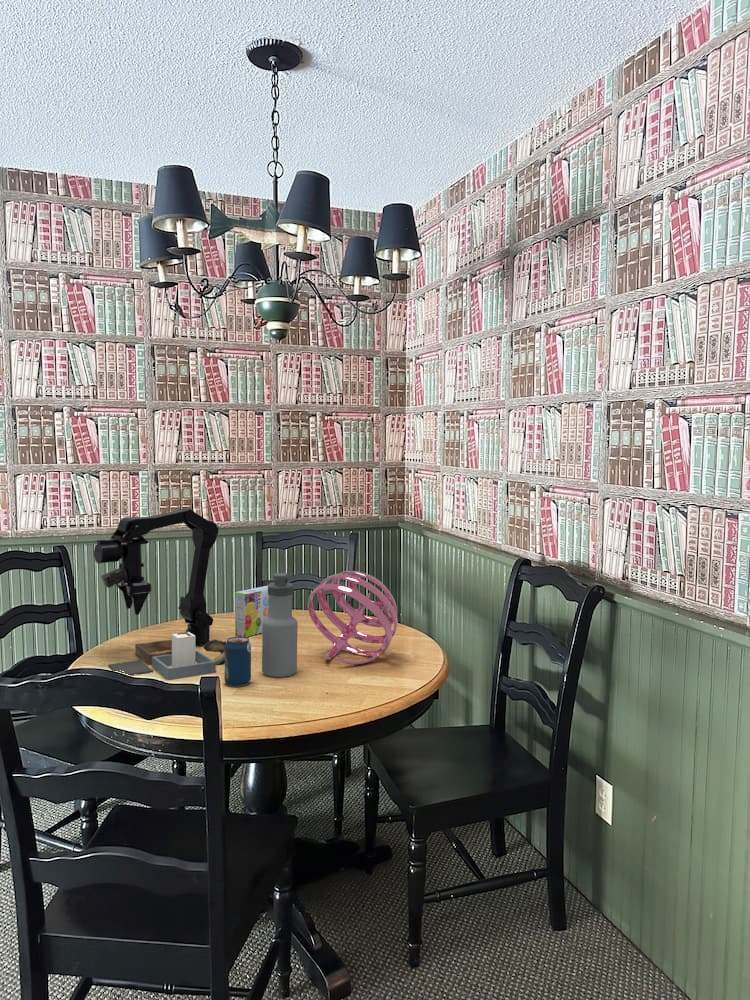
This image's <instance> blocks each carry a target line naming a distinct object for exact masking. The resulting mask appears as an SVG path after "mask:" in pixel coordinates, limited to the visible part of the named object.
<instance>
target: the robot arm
mask: <svg viewBox="0 0 750 1000" xmlns="http://www.w3.org/2000/svg"><path fill="white" fill-rule="evenodd" d="M183 523H184V525H185V526H186V527H187V528H188V529H190V531H192V532H191V539H192V542H193V545H194V546H193V547H194V552H193V558H192V565H191V570H190V571H191V572H190V579H189V584H188V585H189V586H188V591H187V593H186V595H185V596H180V599H179V607H178V608H177V609H178V610H179V614H180V616H181V617H182V618H183V619H184V623H186V624H187V629H185V632H190V633H192V634H193V635H195V647H199V646H205V644H206V643H207V642H208V641H211V640H210V638H211V637H210V629H211V628H210V626H213V623H214V618H213V617H212V616H211V614H209V613H208V612H207V600H206V597H205V586H206V580H207V573H208V567H209V560H210V553H211V550H212V548H213V546H214V545H215V543H216V541H217V537H218V534H219V529H220V528H219V526H218V524H217V523H215V522H214V521H210V520H207V518H205V517H203V516H201V514H198V513H197V512H195V511H194V510H193V509H190V508H180V509H178V510H172V511H168V512H165V513H163V512H162V513H160V514H159V513H158V514H153V515H150V516H127V517H122V518H121V519H120V520H119V522H118V523H117V528H116V529H115V531H114V532H113V534H112V535H111V537H110V539H109V538H108V539H97V540H96V544H95V547H94V550H93V557H94V561H95V562H96V564H99V565H100V564H107V563H115V562H119V561H120V560H121V562H120V563H119V564H118V568H116V569H113V570H111V571H109V572H106V573H104V574H102V575H101V576H100V578H101V580H102V582H103V585H104V586H105V587H106V588H108V589H109V588H112V587H113V586H115V587H116V588H118V589H119V590H120V591H121V593H122V596H123V600H124V603H125V607H126V609H131V608H132V606H133V610H134V615H136V616H138V615H140V613H141V611H142V608H143V606H144V604H145V602H146V599H147V598H148V596H149V594H151V593H150V592H152V584H151V583H150V582H148V581H147V580H145V576H143V568H144V567H145V564H144V562H143V560H142V559H143V558H142V553H143V552H142V545H146V544H149V540H147V539H145V538H144V535H147V534H149V533H150V532H151V531H154V530H158V529H161V528H165V527H166V528H167V527H169V526H174V525H180V524H183Z"/></svg>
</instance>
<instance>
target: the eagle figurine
mask: <svg viewBox="0 0 750 1000" xmlns="http://www.w3.org/2000/svg"><path fill="white" fill-rule="evenodd" d="M226 642H227V640H225V641H222V640H218V639H211V640H210V641H208V642H207V643H206V644H205V645H203V649H204V650H205V651H206V652H212V653H220V654H218V655H217V656H216V657H214V658H213V659H212V660H214V661H215V662H216V666H217V665H219V664H222V663H224V662H225V644H226Z"/></svg>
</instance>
